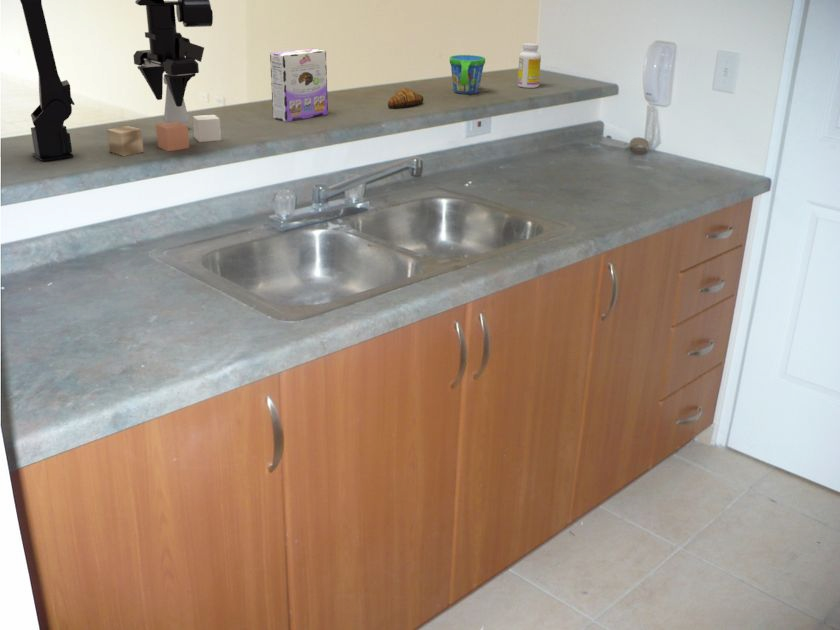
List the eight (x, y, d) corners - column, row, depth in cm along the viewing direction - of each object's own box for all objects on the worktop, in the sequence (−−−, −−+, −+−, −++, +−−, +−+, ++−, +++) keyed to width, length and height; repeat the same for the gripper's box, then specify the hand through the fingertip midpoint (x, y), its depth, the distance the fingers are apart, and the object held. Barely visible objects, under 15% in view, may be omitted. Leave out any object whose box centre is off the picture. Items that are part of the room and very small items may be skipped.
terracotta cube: (168, 151, 192) (166, 128, 190) (158, 147, 195) (155, 124, 193) (189, 148, 195) (187, 125, 193) (179, 144, 198) (177, 121, 196)
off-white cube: (199, 142, 200) (197, 120, 198) (194, 137, 204) (192, 116, 202) (221, 140, 202) (219, 118, 200) (215, 136, 206) (214, 114, 204)
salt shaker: (175, 133, 208) (169, 76, 203) (159, 129, 211) (154, 73, 206) (194, 129, 212) (190, 73, 207) (179, 125, 215) (174, 70, 210)
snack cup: (478, 98, 256) (480, 62, 252) (443, 95, 259) (444, 60, 255) (488, 89, 270) (489, 54, 266) (454, 87, 273) (455, 53, 268)
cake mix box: (314, 111, 234) (312, 47, 227) (328, 115, 230) (327, 50, 223) (271, 118, 225) (268, 51, 218) (285, 122, 221) (283, 54, 214)
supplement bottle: (542, 86, 277) (545, 44, 271) (533, 89, 271) (536, 46, 266) (523, 84, 280) (525, 42, 275) (513, 87, 275) (516, 44, 269)
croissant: (412, 101, 251) (412, 83, 249) (430, 104, 247) (431, 86, 245) (379, 107, 242) (379, 89, 239) (398, 111, 237) (398, 92, 235)
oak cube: (123, 156, 187) (120, 133, 185) (110, 152, 190) (107, 129, 188) (143, 152, 191) (141, 129, 189) (130, 148, 194) (127, 125, 192)
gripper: (218, 30, 183) (223, 105, 190) (176, 21, 196) (182, 92, 202) (169, 33, 177) (176, 111, 183) (128, 24, 189) (136, 97, 196)
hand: (169, 102), depth 191 cm, fingers open, 9 cm apart
